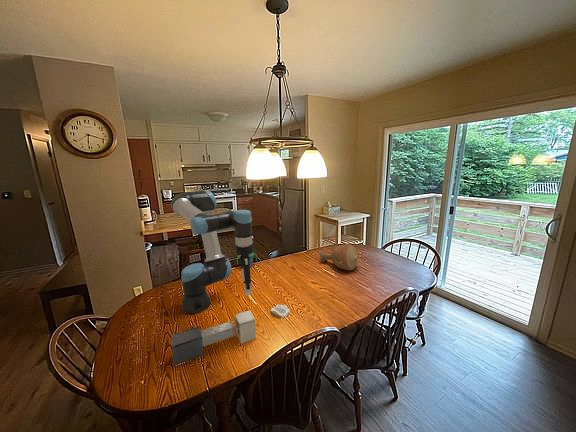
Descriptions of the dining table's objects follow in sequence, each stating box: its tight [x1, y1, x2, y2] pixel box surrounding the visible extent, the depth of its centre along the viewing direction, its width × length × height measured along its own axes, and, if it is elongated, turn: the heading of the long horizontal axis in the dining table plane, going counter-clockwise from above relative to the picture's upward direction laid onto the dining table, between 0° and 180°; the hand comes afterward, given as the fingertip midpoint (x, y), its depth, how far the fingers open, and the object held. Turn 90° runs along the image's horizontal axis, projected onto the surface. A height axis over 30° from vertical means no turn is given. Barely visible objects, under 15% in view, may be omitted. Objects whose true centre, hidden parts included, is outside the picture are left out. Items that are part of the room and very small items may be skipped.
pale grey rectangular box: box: [200, 319, 237, 347], centre depth 99 cm, size 23×5×5 cm, turn 117°
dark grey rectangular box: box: [170, 326, 205, 366], centre depth 96 cm, size 11×7×10 cm, turn 117°
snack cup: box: [236, 251, 258, 268], centre depth 180 cm, size 16×10×10 cm
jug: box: [318, 243, 359, 271], centre depth 176 cm, size 20×19×30 cm
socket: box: [234, 309, 257, 345], centre depth 107 cm, size 7×8×10 cm
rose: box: [270, 304, 291, 318], centre depth 124 cm, size 10×4×10 cm
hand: (246, 287), depth 110 cm, fingers open, 13 cm apart
